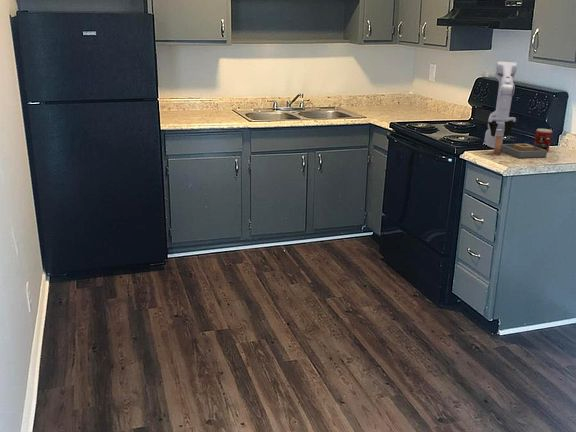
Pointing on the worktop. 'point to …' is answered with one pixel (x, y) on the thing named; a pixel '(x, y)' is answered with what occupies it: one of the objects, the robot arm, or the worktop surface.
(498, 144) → the peg
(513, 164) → the worktop surface
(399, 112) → the worktop surface
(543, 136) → the canned food
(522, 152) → the tray
